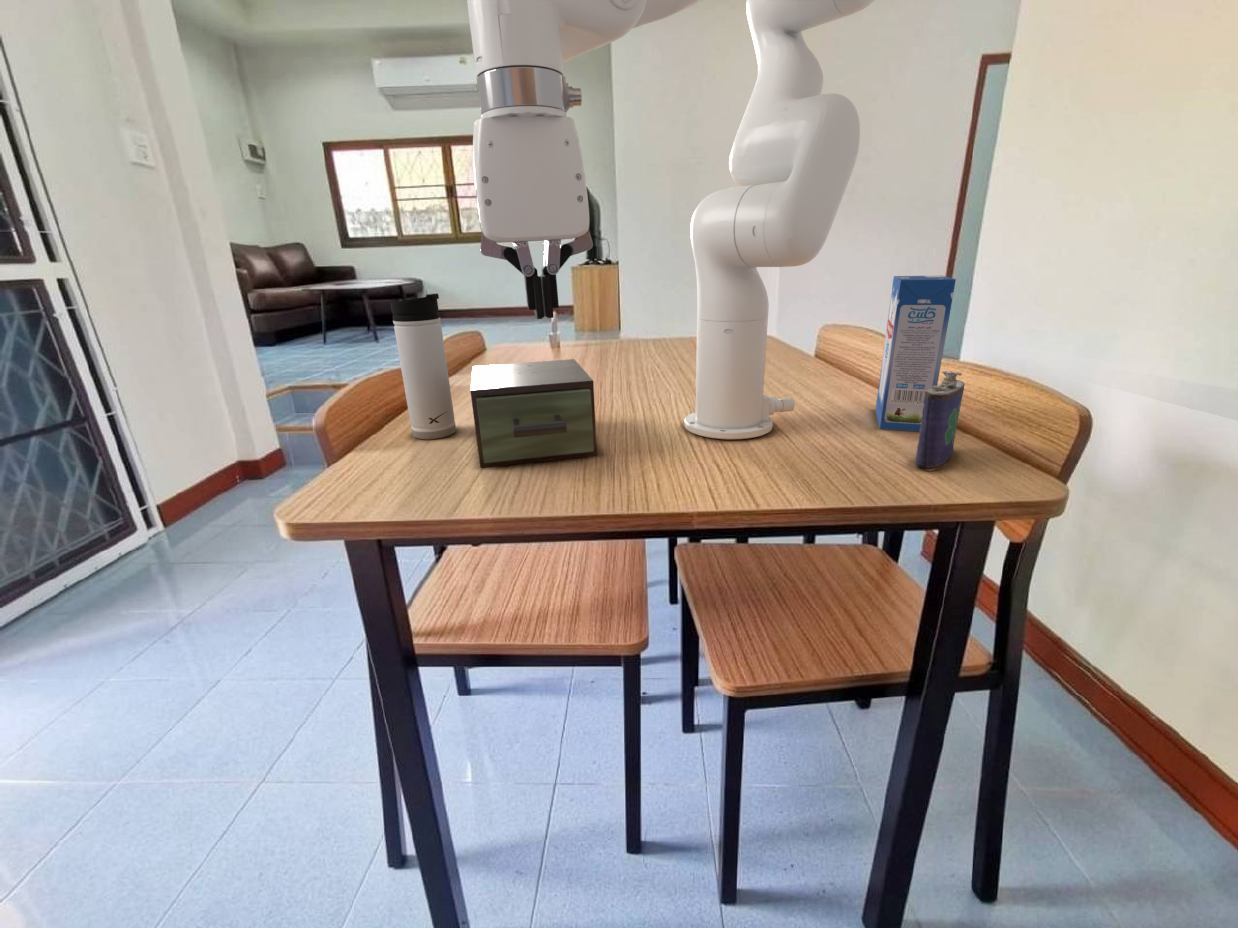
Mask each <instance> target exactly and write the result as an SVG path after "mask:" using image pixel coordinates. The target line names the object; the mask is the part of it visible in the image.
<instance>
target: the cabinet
mask: <svg viewBox="0 0 1238 928" xmlns="http://www.w3.org/2000/svg"><path fill="white" fill-rule="evenodd" d="M570 389H590V391H591V407H592V426H593V446H594V451H593V452H585V453H575V454H566V455H556V456H547V457H537V458H528V459H518V460H509V461H499V462H490V463H484V457H483V449H482V441H481V433H480V425H479V417H478V409H477V401H476V399H477V398H481V397H485V396H498V395H510V394H522V393H534V392H546V391H558V390H570ZM469 392H470V397H471V398H470V399H471V405H472V406H471V407H472V414H473V422H474V430H475V438H476V445H477V453H478V461H479V468H489V467H499V466H507V465H516V464H517V465H518V464H526V463H536V462H544V461H553V460H564V459H565V460H566V459H573V458H574V459H575V458H582V457H590V456H598V449H597V448H598V447H597V445H598V444H597V428H596V427H597V426H596V425H597V424H596V408H595V405H596V404H595V387H594V380H593V378H592V377H591V376H590V375H589V374H588V373H587V372H586V371H585V370H584V368H583V367H582V366H581V365H580V364H579V363H578V362H577V360H576V359H574V358H570V359H558V360H557V359H556V360H542V361H528V362H517V363H515V362H514V363H513V362H512V363H502V364H499V363H498V364H489V365H488V364H487V365H473V366H472V370H471V379H470V391H469Z"/></svg>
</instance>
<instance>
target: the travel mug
mask: <svg viewBox="0 0 1238 928" xmlns="http://www.w3.org/2000/svg"><path fill="white" fill-rule="evenodd" d="M439 299H440V296H439V293H438V292H437V293H435V292H434V293H426V295H425V296H423V297H415V298H410V299H404V300H398V301H392V302H390V309H391V313H392V323H393V325H394V326H393V329H394V335H395V341H396V348H397V353H398V359H399V364H400V370H401V376H402V382H403V387H404V388H403V389H404V392H405V393H404V395H405V399H406V406H407V410H408V417H409V423H410V425H411V427H410V429H411V435H412V437H414V438H415V439H418V440H437V439H443V438H447V437H449V436H452V435H453V434H455V433H456V431H457V428H456V427H457V426H456V421H455V413H454V406H453V397H452V392H451V391H452V390H451V385H450V378H449V370H448V362H447V357H446V355H447V354H446V350H445V342H444V335H443V329H442V327H443V326H442V323H441V317H440V316H441V315H440V312H439V303H438V300H439Z"/></svg>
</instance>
